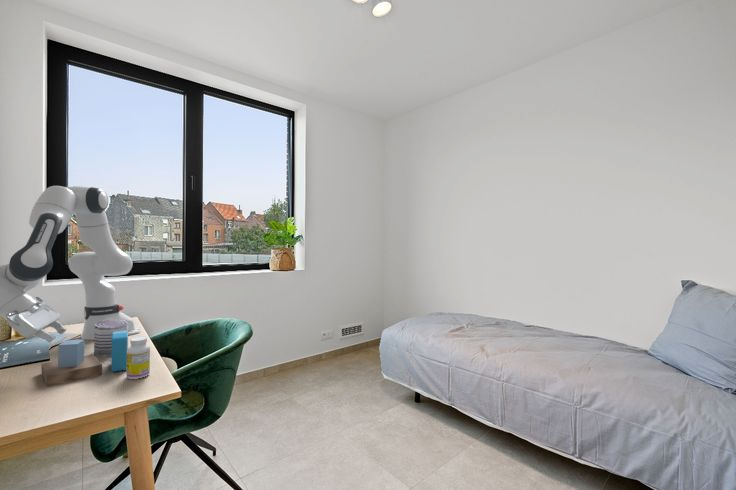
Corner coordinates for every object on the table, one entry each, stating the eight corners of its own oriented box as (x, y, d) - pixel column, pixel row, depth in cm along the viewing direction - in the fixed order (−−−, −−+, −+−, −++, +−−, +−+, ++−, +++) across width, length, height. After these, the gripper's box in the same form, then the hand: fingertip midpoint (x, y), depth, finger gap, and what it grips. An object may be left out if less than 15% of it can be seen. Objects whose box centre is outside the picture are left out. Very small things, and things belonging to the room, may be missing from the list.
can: (118, 345, 150) (118, 317, 150) (134, 350, 145) (135, 321, 145) (87, 353, 140) (87, 323, 140) (104, 358, 135) (104, 327, 135)
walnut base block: (93, 365, 129) (93, 354, 129) (101, 376, 120) (102, 364, 120) (41, 375, 119) (41, 363, 119) (46, 388, 110) (46, 375, 109)
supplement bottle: (128, 373, 121) (129, 336, 121) (151, 371, 124) (151, 335, 123) (124, 381, 115) (124, 342, 115) (147, 378, 118) (148, 340, 117)
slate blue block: (65, 362, 121) (66, 340, 121) (84, 360, 123) (84, 339, 122) (58, 367, 116) (58, 345, 116) (77, 366, 118) (77, 344, 117)
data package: (112, 362, 131) (113, 330, 131) (127, 360, 133) (128, 329, 133) (111, 373, 121) (111, 339, 121) (127, 371, 123) (127, 337, 123)
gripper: (13, 307, 105) (54, 337, 109) (42, 296, 123) (77, 321, 128) (-7, 323, 103) (36, 353, 107) (26, 309, 122) (61, 335, 126)
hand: (58, 336), depth 118 cm, fingers open, 8 cm apart
